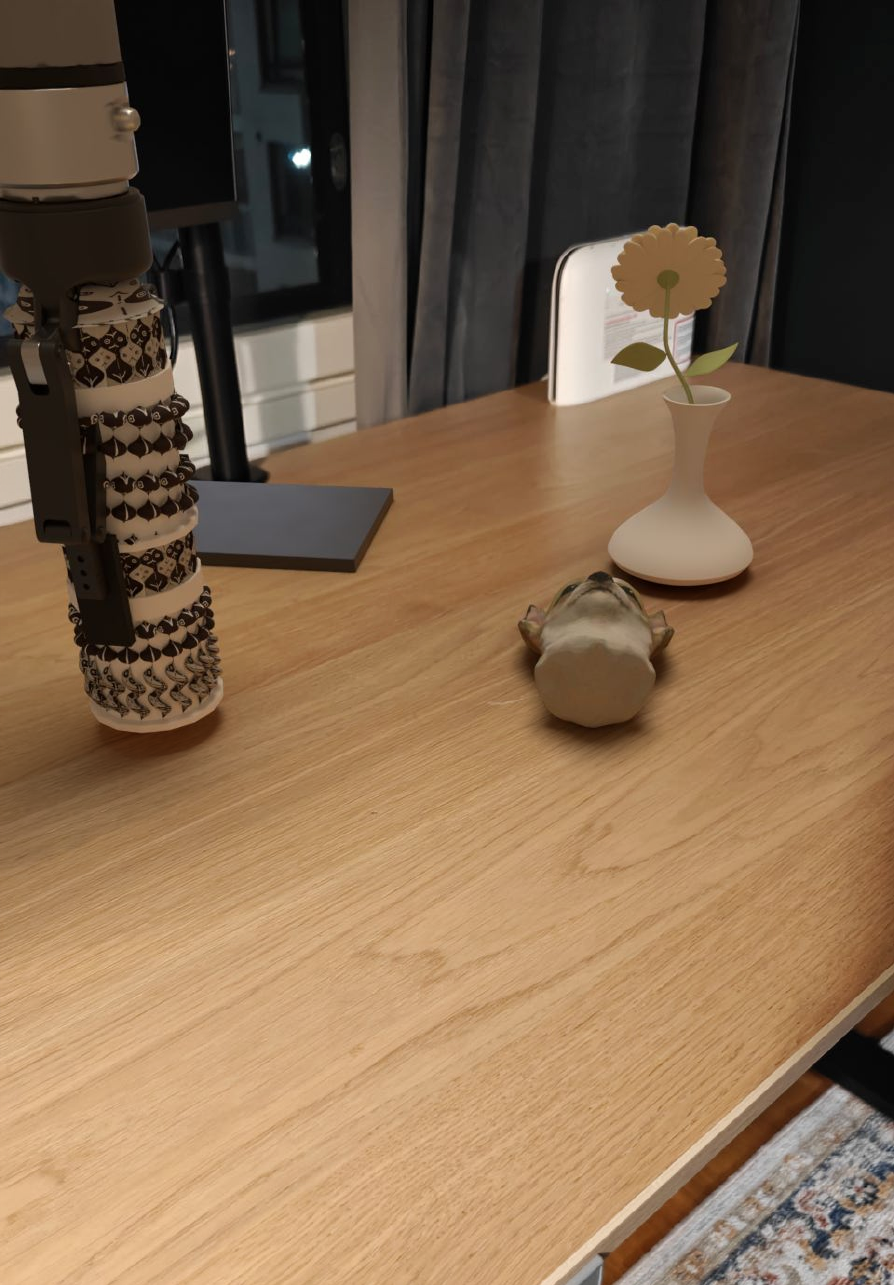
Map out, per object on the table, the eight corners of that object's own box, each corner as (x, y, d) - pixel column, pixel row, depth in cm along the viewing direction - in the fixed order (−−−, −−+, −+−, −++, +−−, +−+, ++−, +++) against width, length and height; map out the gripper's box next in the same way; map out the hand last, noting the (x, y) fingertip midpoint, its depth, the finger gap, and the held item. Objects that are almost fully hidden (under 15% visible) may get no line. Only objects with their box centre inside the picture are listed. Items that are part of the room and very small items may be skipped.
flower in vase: (769, 557, 92) (822, 218, 78) (721, 612, 85) (770, 246, 70) (622, 528, 98) (645, 206, 84) (564, 577, 90) (578, 231, 76)
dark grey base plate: (90, 560, 95) (82, 526, 93) (159, 491, 108) (153, 460, 106) (355, 573, 92) (352, 538, 90) (393, 500, 104) (392, 468, 103)
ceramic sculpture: (507, 612, 66) (523, 527, 78) (503, 742, 70) (520, 642, 83) (693, 620, 64) (680, 532, 77) (677, 752, 69) (667, 649, 82)
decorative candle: (93, 749, 68) (-11, 304, 53) (75, 676, 75) (-21, 266, 60) (244, 718, 70) (185, 287, 55) (213, 651, 77) (153, 252, 62)
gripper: (39, 227, 46) (133, 701, 60) (208, 160, 63) (252, 540, 77) (-129, 223, 47) (0, 691, 61) (81, 158, 64) (147, 534, 78)
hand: (141, 606), depth 69 cm, fingers closed on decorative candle, 8 cm apart
